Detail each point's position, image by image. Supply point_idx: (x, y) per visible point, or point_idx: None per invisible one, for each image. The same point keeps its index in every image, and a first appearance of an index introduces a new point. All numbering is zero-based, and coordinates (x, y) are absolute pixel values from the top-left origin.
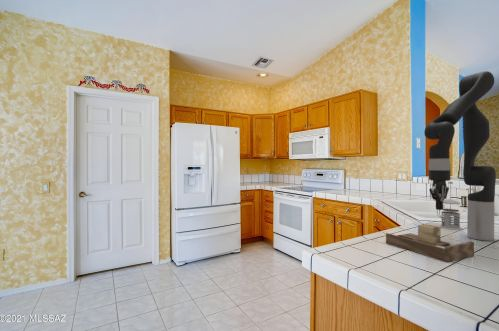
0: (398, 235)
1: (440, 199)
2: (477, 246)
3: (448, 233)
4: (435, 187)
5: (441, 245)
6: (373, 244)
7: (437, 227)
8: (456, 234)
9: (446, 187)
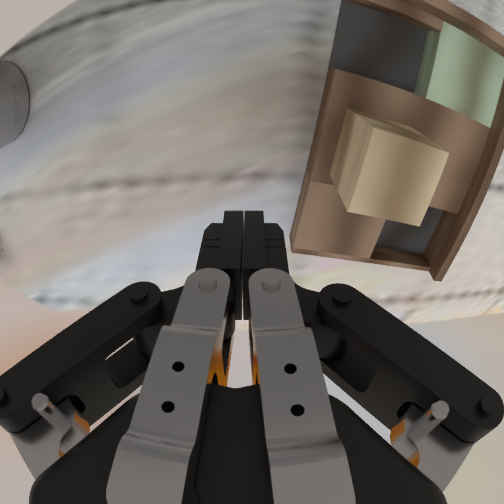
0: (380, 260)
1: (295, 293)
2: (141, 21)
3: (39, 198)
4: (452, 468)
5: (402, 89)
6: (466, 267)
7: (403, 136)
8: (25, 175)
9: (121, 461)
